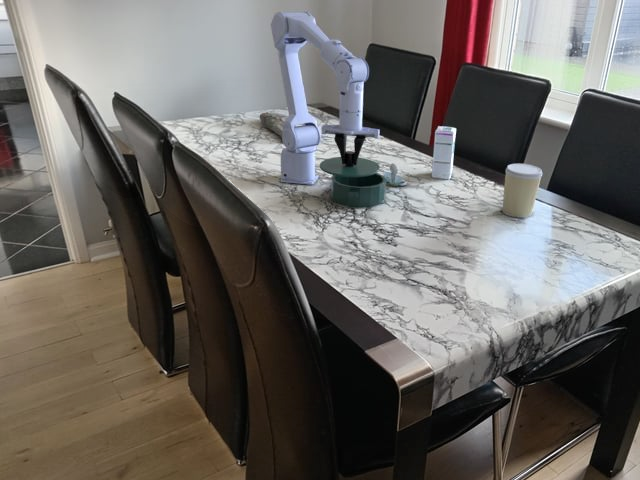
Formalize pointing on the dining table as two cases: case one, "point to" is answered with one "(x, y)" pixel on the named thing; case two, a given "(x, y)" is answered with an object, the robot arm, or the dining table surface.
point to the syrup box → (443, 152)
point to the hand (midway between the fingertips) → (349, 163)
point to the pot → (358, 190)
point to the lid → (349, 166)
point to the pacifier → (394, 177)
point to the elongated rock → (273, 122)
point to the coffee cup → (520, 189)
